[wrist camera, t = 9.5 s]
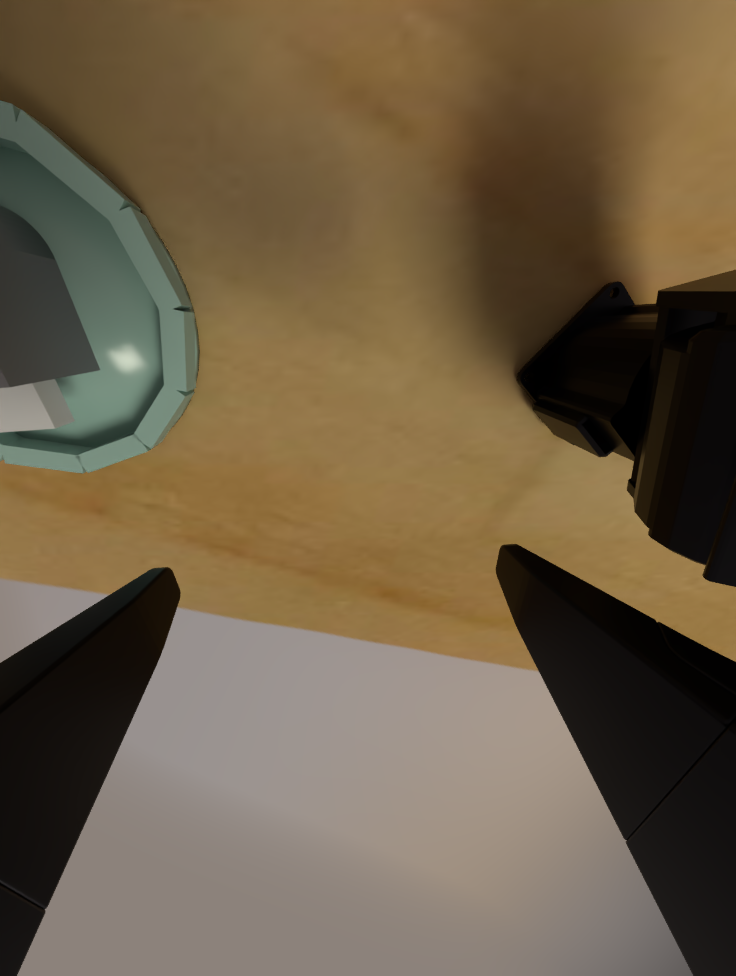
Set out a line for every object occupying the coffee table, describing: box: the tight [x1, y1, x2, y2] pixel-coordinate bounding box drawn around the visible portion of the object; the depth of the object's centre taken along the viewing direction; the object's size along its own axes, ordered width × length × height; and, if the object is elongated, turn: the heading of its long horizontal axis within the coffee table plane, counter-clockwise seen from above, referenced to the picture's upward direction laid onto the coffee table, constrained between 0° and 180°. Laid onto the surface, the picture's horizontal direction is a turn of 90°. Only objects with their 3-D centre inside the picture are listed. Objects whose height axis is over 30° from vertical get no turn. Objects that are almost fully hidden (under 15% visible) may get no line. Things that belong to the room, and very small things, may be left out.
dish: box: [0, 100, 200, 473], centre depth 14 cm, size 14×14×2 cm
